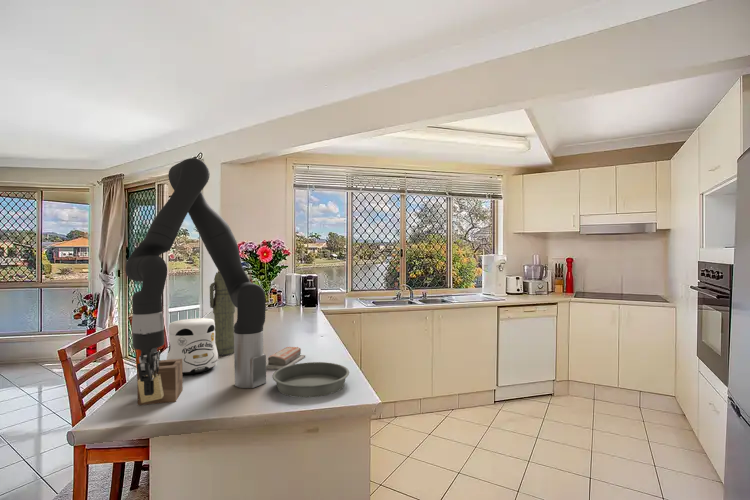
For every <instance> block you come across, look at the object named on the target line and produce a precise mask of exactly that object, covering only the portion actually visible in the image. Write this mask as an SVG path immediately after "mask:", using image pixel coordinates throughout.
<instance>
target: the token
mask: <svg viewBox="0 0 750 500" xmlns="http://www.w3.org/2000/svg"><path fill="white" fill-rule="evenodd" d="M137 382H138V387H139V393H140V398H141V403H144V402H148V401H153V400H157V399H162V397H163V396H164V393H163V388H162V382H161V376H160V374H158V375H154V380H153V383H154V393H153V395H147V396H146V395H144V382H141V381H140V379H139V380H138V381H137V380H136V383H137Z"/></svg>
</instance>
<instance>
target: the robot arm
mask: <svg viewBox="0 0 750 500" xmlns="http://www.w3.org/2000/svg"><path fill="white" fill-rule="evenodd" d="M210 177H211V176H210V170H209V167H208V165H207V164H206V163H205V162H204V161H203V160H201V159H199V158H195V157H190V158H186V159H184V160H181V161H180V162H177V163H176V164H175V165H172V166H171V167H170V168H169V171H168V181H169V183H170V187H171V188H172V190H173V193H172V194H171V195H170V197H169V199H168V200H167V201H166V203H165V204H164V205H163V207H161V209H160V210H159V211H158V213H157V215H155V218H154V219H153V221H152V222H151V225H150V227H149V228H148V230H147V232H146V235H145V237H144V239H143V240H141V242H140V243H139V244H138V245H137V247H136V248H135V249H134V250H133V251H132V253H131V254H130V256H129V257H128V259H127V260H126V264H125V267H124V268H125V269H124V270H125V275H126V276H127V278H129V280H131V281H134V282H142V283H141V284H142V285H141V288H140V290H138V291H135V292H134V293H133V295H132V298H131V299H132V300H131V303H132V306H131V307H132V318H131V320H132V321H131V330H132V331H131V334H132V335H131V336H132V349H134V350H136V351H140V355H139V357H138V361H139V362H138V363H137V365H136V367H137V370H138V372H139V377H140V381H141V382H144V395H146V396H147V395H153V393H154V383H153V380H154V375H157V373H158V371H159V361H160V358H161V351H160V350H158V348H161V347H162V346H164V345H165V319H164V314H163V298H162V297H163V293H164V291H165V285H166V281H167V278H168V277H167V276H168V267H167V264H166V261H165V260H164V259H163V257H161V255H162V254H164V253H167V252H169V251H170V250H171V248H172V247H173V245H174V242H175V240H176V238H177V237H178V233H179V232H180V229H181V227H182V224H183V222H184V220H185V219H186V217H187V215H189V217H190V219H191V220H192V223H193V225H194V227H195V228H196V230H197V233H198V234H199V237H200V239H201V241H202V242H203V245H204V247H205V249H206V251H207V253H208V254H209V256H210V258H211V260H212V262H213V264H214V266H215V267H216V268H217V270H218V272H220V274H221V275H222V277H223V280H224V282H225V285H226V287H227V290H228V293H229V296H230V298H231V301H232V303H233V304H234V305H235V308H237V309H236V310H237V314H236V317H237V318H236V322H234V355H233V356H234V358H233V359H234V362H233V363H234V366H233V368H234V386H235V387H237V388H240V389H249V388H250V389H251V388H252V389H254V388H257V387H259V386H261V385H263V384H266V383H267V369H266V362H267V354H266V353H264V325H265V323H266V304H267V301H266V293H265V291H264V289H263V287H261V286H260V285H259V284H256V283H253V282H251V280H250V278H249V276H248V275H247V273H246V271H245V269H244V267H243V264H242V261H241V255H240V250H239V246H238V242H237V239H236V237H235V235H234V234H233V231H232V229H231V227H230V224H228V222H227V221H226V220H225V219H224V218H223V217H222V216H221V215H220V214H219V213H218V212H217V211H215V210H214V209H213V208H212V207H211V205H210V204H209V203H208V202H207V201H208V200H207V199H206V198H205V195H204V194H203V192H202V191H203V190H204V188H205V187H206V185H207V184H208V183H209V180H210Z"/></svg>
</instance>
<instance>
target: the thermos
mask: <svg viewBox="0 0 750 500" xmlns="http://www.w3.org/2000/svg"><path fill="white" fill-rule="evenodd" d="M213 278H214V279H213V282H212V283H211V284H210V285H209V307H210V309H212V314H213V317H214V318H213V320H214V322H215V344H216V348H217V351H218V357H223V356H224V357H225V356H232V355H233V354H234V324H235V319H234V318H235V316H234V315H235V312H236V306H235V305H234V304H233V303H232V301H231V298H230V296H229V293H228V290H227V287H226V285H225V282H224V280H223V277H222V275H221V274H220V272H219V271H217V272H216V273H215V275H214V277H213Z"/></svg>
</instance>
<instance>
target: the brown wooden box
mask: <svg viewBox="0 0 750 500" xmlns="http://www.w3.org/2000/svg"><path fill="white" fill-rule="evenodd" d="M158 374H160V376H161V382H162V388H163V393H164V396H163V397H162V399H157V400H153V401H148V402H144V403H141V398H140V393H139V387H138V382H137V381H138V380H139V379H140V377H139V372H138V369H137V370H136V375H137V376H136V379H137V380H136V383H137V385H136V386H137V387H136V388H137V391H136V392H137V394H136V396H137V406H146V405H154V404H164V403H167V404H168V403H176V402H177V400H178V399H179V397H180V395H181V394H182V392H183V391H184V390H183V389H184V386H183V384H184V381H183V377H184V376H183V375H184V374H182V359H171V360H166V359H161V360H160V361H159V371H158V373H157V375H158Z"/></svg>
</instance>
